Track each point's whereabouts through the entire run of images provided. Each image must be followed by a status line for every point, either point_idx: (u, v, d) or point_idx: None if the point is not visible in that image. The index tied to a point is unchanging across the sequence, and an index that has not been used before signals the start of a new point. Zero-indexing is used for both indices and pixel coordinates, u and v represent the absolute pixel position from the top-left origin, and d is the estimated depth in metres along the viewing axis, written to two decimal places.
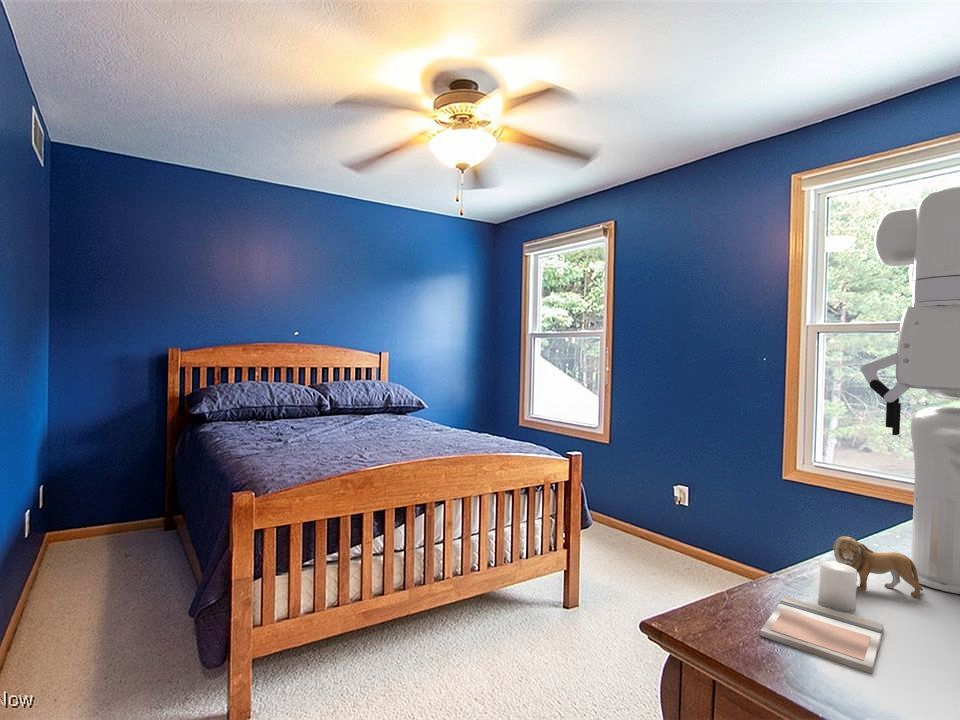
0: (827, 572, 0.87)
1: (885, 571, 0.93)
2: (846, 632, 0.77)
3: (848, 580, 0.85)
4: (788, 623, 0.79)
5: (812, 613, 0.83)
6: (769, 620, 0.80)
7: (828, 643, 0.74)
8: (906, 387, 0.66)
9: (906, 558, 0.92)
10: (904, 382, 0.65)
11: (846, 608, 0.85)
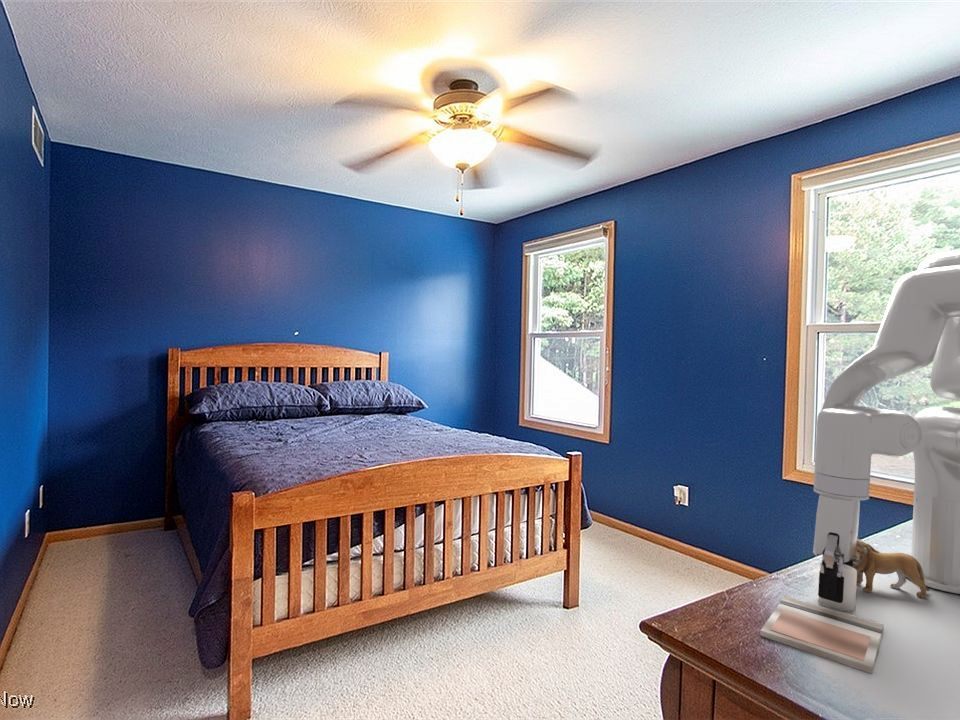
0: None
1: (891, 571, 0.93)
2: (846, 632, 0.77)
3: (848, 580, 0.85)
4: (788, 623, 0.79)
5: (812, 613, 0.83)
6: (769, 620, 0.80)
7: (828, 643, 0.74)
8: (844, 562, 0.84)
9: (912, 558, 0.92)
10: (847, 560, 0.83)
11: (846, 608, 0.85)
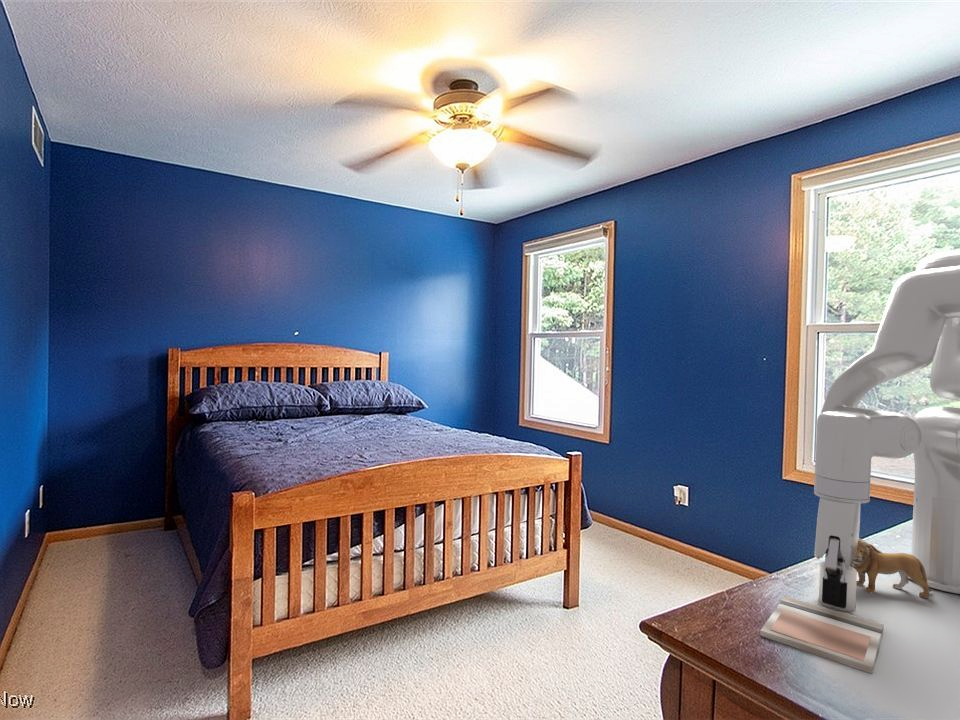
0: None
1: (893, 572, 0.93)
2: (846, 632, 0.77)
3: (848, 580, 0.85)
4: (788, 623, 0.79)
5: (812, 613, 0.83)
6: (769, 620, 0.80)
7: (828, 643, 0.74)
8: None
9: (915, 558, 0.92)
10: (848, 563, 0.83)
11: (846, 608, 0.85)
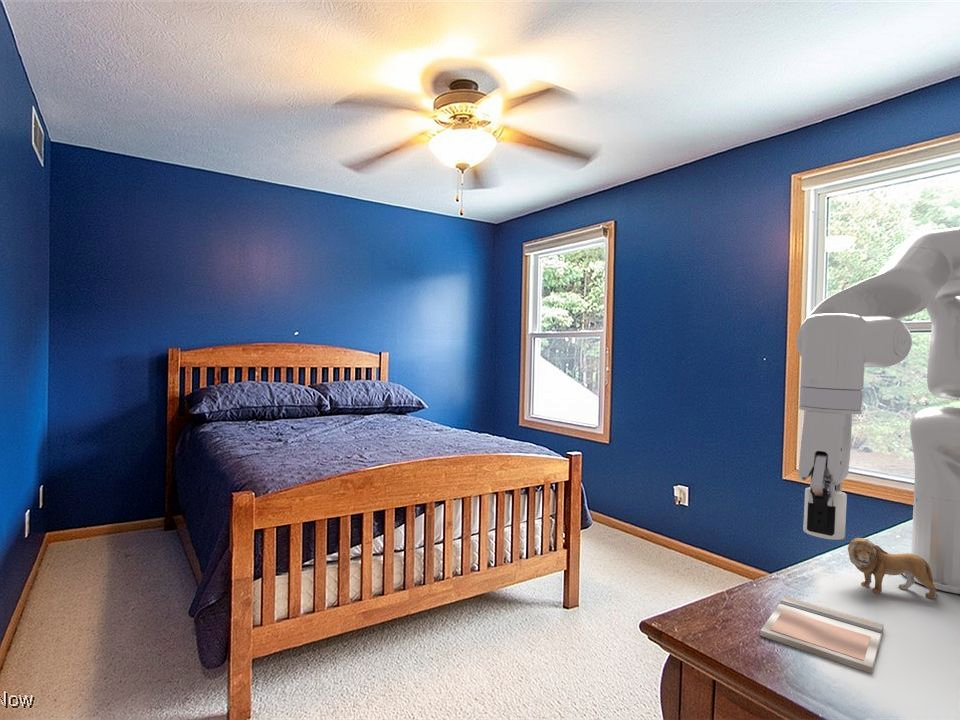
0: None
1: (900, 572, 0.92)
2: (846, 632, 0.77)
3: (836, 504, 0.74)
4: (788, 623, 0.79)
5: (812, 613, 0.83)
6: (769, 620, 0.80)
7: (828, 643, 0.74)
8: (834, 488, 0.74)
9: (921, 559, 0.92)
10: (837, 482, 0.72)
11: (834, 536, 0.74)
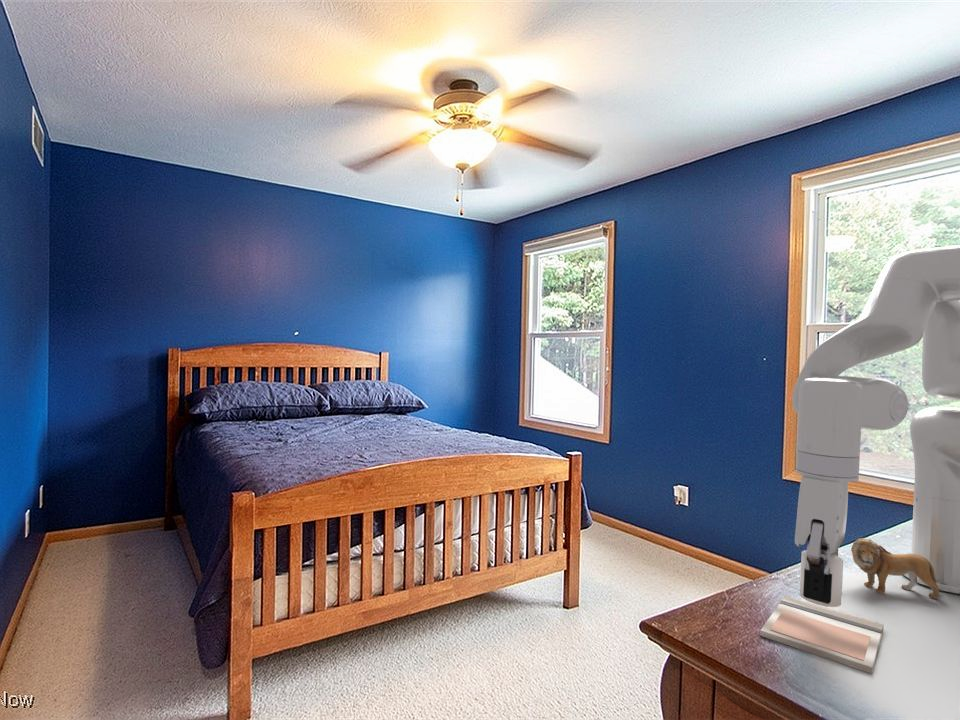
0: None
1: (903, 573, 0.92)
2: (846, 632, 0.77)
3: (833, 571, 0.74)
4: (788, 623, 0.79)
5: (812, 613, 0.83)
6: (769, 620, 0.80)
7: (828, 643, 0.74)
8: None
9: (924, 559, 0.92)
10: (834, 551, 0.72)
11: (830, 603, 0.74)
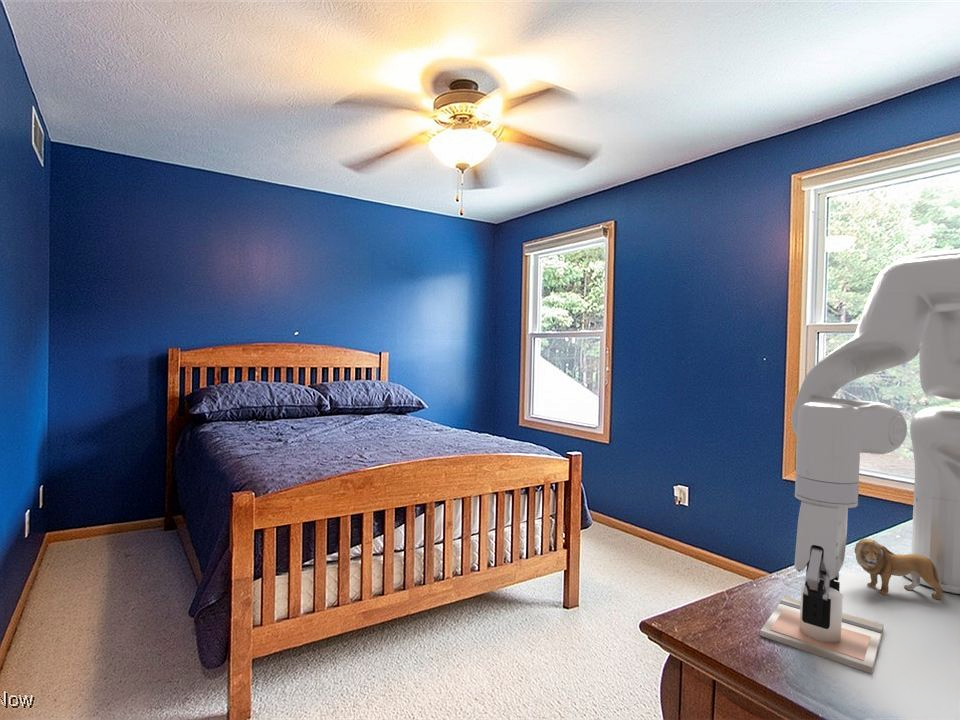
0: None
1: (906, 573, 0.92)
2: (846, 632, 0.77)
3: (832, 607, 0.74)
4: (788, 623, 0.79)
5: None
6: (769, 620, 0.80)
7: (828, 643, 0.74)
8: (830, 581, 0.73)
9: (927, 560, 0.92)
10: (833, 577, 0.72)
11: (830, 639, 0.74)
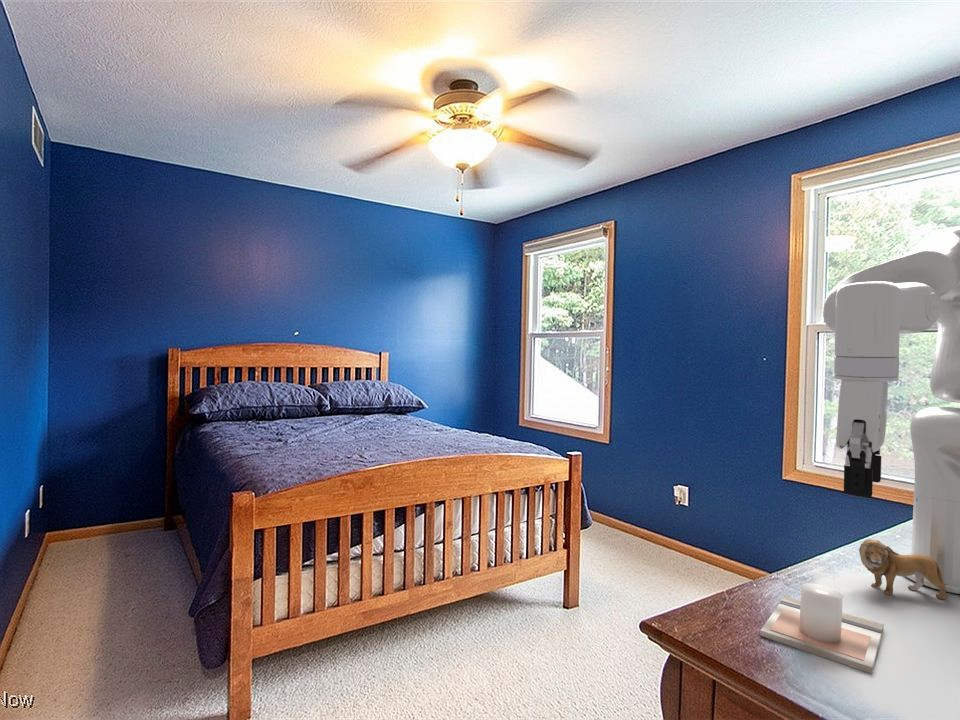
0: (809, 597, 0.76)
1: (910, 573, 0.92)
2: (846, 632, 0.77)
3: (832, 607, 0.74)
4: (788, 623, 0.79)
5: None
6: (769, 620, 0.80)
7: (828, 643, 0.74)
8: (872, 452, 0.74)
9: (931, 560, 0.91)
10: (876, 449, 0.73)
11: (830, 639, 0.74)
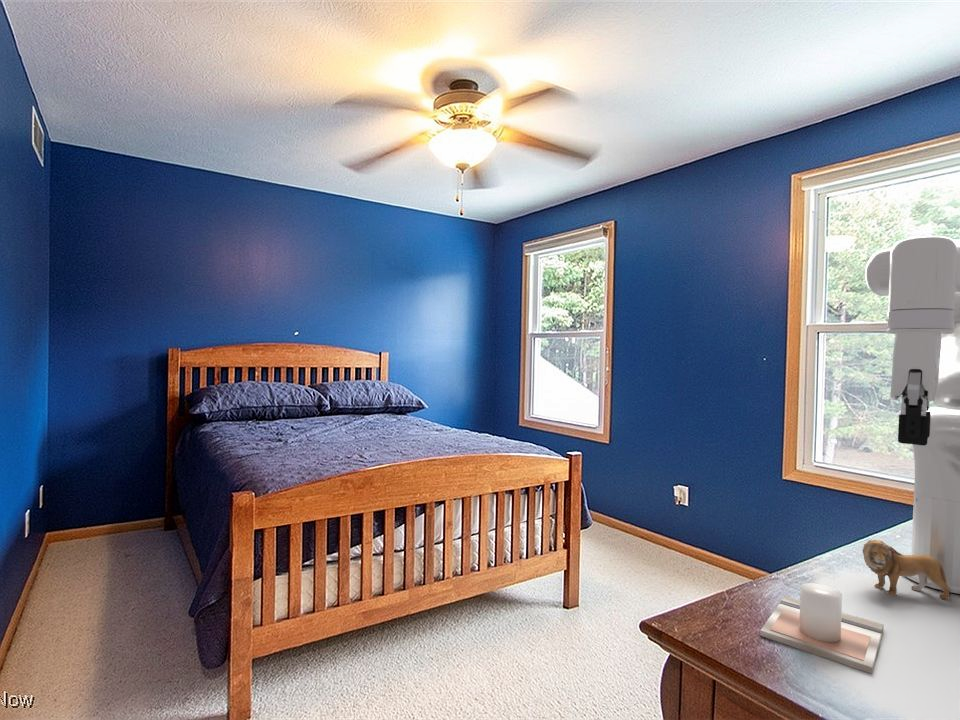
0: (808, 597, 0.76)
1: (914, 574, 0.92)
2: (846, 632, 0.77)
3: (832, 606, 0.74)
4: (788, 623, 0.79)
5: None
6: (769, 620, 0.80)
7: (828, 643, 0.74)
8: (927, 402, 0.75)
9: (935, 560, 0.91)
10: (932, 398, 0.75)
11: (831, 638, 0.74)
